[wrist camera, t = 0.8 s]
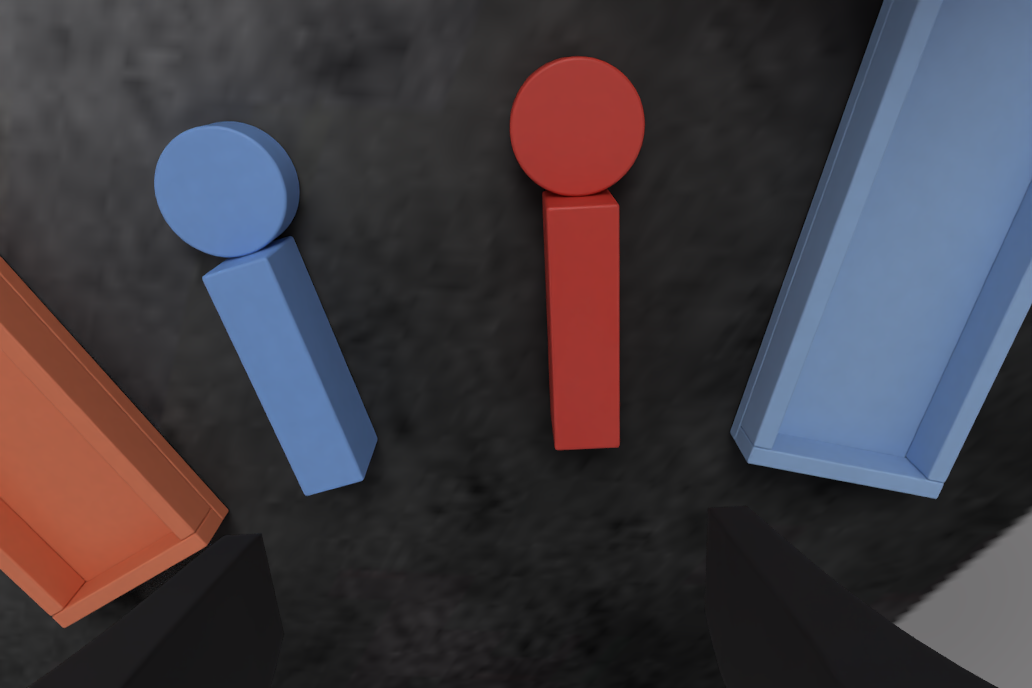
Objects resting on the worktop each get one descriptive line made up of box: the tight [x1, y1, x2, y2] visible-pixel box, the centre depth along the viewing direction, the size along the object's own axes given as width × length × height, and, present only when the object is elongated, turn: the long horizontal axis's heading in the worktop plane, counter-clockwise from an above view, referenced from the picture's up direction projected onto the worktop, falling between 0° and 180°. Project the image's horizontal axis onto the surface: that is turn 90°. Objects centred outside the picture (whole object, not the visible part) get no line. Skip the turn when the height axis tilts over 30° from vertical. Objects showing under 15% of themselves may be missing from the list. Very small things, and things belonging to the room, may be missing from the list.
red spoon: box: [510, 56, 645, 450], centre depth 18 cm, size 9×3×2 cm, turn 3°
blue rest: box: [730, 0, 1032, 499], centre depth 18 cm, size 14×5×2 cm, turn 168°
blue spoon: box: [154, 121, 378, 496], centre depth 18 cm, size 9×3×2 cm, turn 17°
